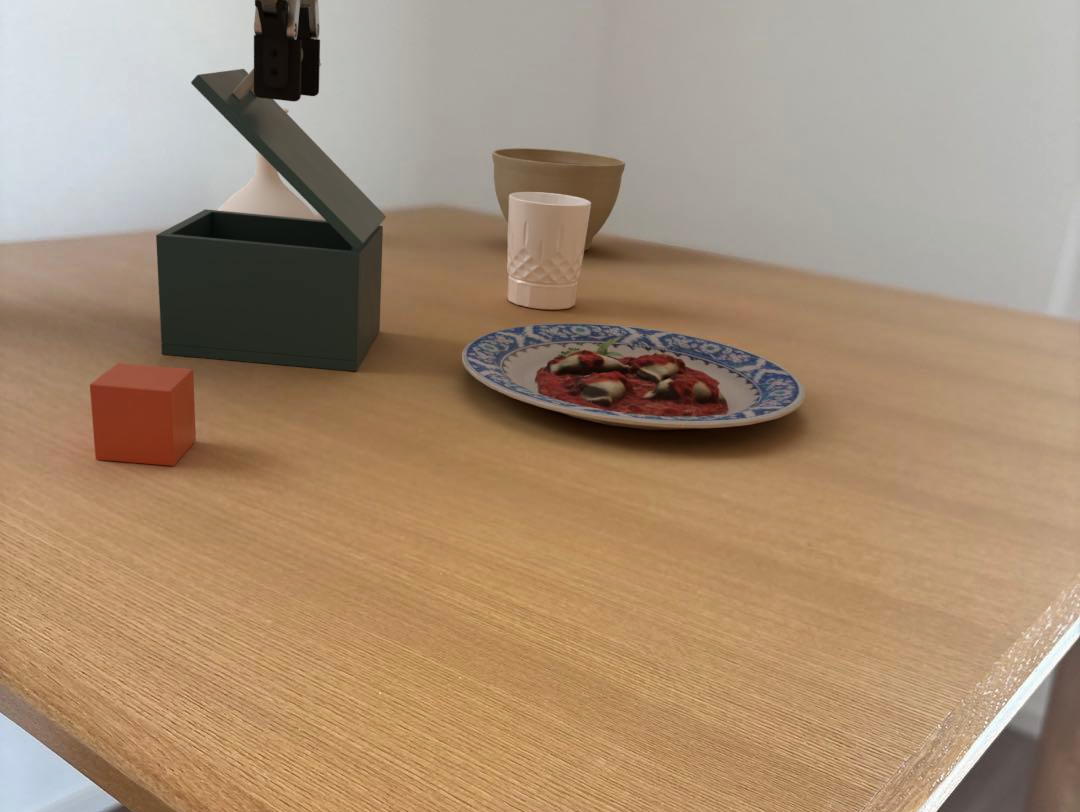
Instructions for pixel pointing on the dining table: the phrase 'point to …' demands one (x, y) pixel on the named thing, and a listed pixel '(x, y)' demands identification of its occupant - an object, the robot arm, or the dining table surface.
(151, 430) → the block
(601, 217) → the planter bowl
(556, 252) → the white cup
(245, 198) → the flower in vase
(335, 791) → the dining table surface
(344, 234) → the lid
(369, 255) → the chest
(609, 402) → the ceramic plate
